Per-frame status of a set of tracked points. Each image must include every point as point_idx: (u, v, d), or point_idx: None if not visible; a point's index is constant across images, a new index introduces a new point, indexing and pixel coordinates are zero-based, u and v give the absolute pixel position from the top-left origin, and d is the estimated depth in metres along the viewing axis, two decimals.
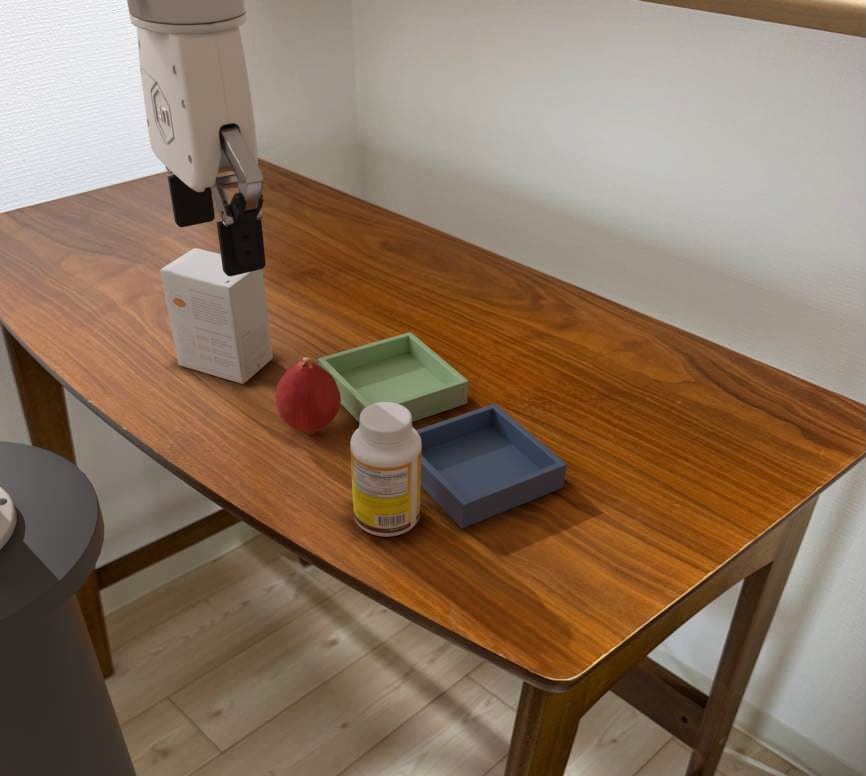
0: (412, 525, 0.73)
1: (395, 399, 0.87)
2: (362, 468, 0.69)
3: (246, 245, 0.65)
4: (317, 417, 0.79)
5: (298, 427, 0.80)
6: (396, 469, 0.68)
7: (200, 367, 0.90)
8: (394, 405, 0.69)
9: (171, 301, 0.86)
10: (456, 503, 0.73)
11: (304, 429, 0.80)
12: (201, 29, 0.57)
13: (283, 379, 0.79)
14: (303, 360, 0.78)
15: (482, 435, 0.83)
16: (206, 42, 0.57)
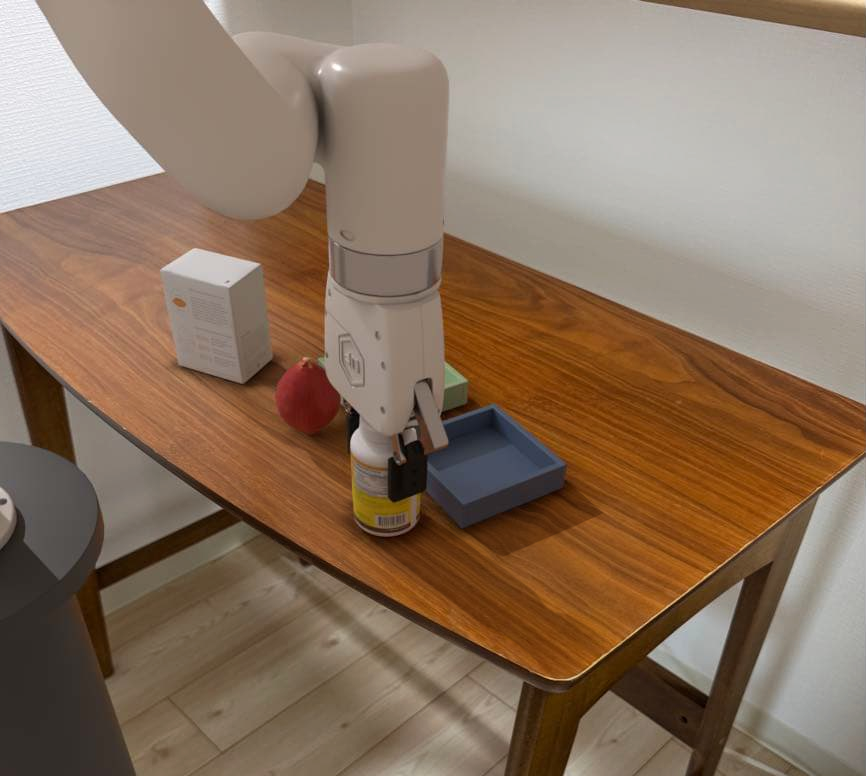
0: (412, 525, 0.73)
1: None
2: (362, 468, 0.69)
3: (414, 477, 0.68)
4: (317, 417, 0.79)
5: (298, 427, 0.80)
6: None
7: (200, 367, 0.90)
8: None
9: (171, 301, 0.86)
10: (456, 503, 0.73)
11: (304, 429, 0.80)
12: (407, 299, 0.58)
13: (283, 379, 0.79)
14: (303, 360, 0.78)
15: (482, 435, 0.83)
16: (412, 313, 0.58)
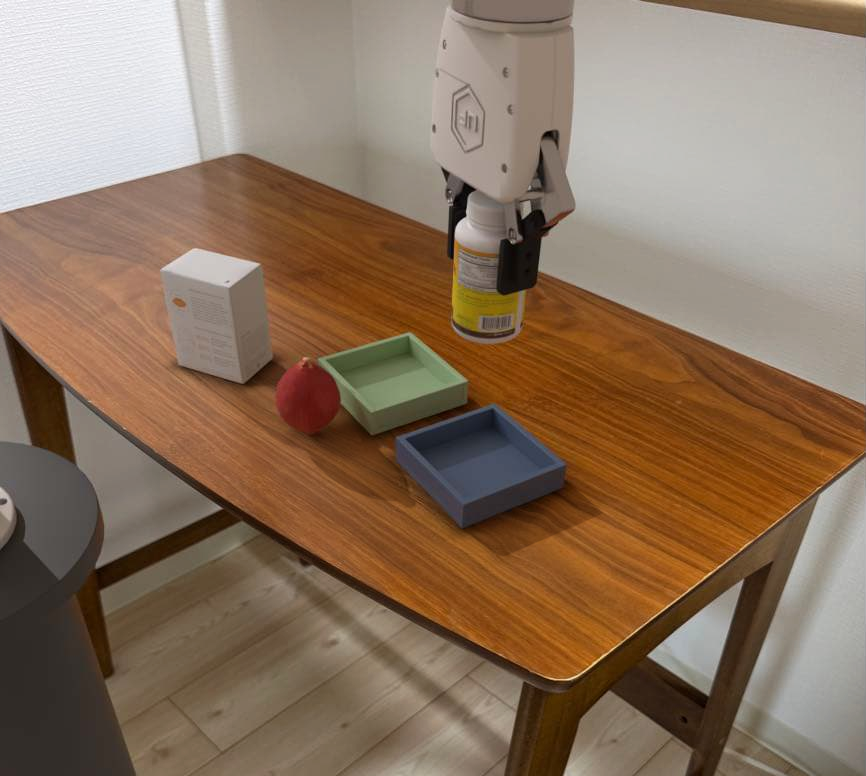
0: (516, 332, 0.68)
1: (395, 399, 0.87)
2: (469, 257, 0.64)
3: (527, 263, 0.62)
4: (317, 417, 0.79)
5: (298, 427, 0.80)
6: None
7: (200, 367, 0.90)
8: None
9: (171, 301, 0.86)
10: (456, 503, 0.73)
11: (304, 429, 0.80)
12: (540, 28, 0.53)
13: (283, 379, 0.79)
14: (303, 360, 0.78)
15: (482, 435, 0.83)
16: (546, 42, 0.53)
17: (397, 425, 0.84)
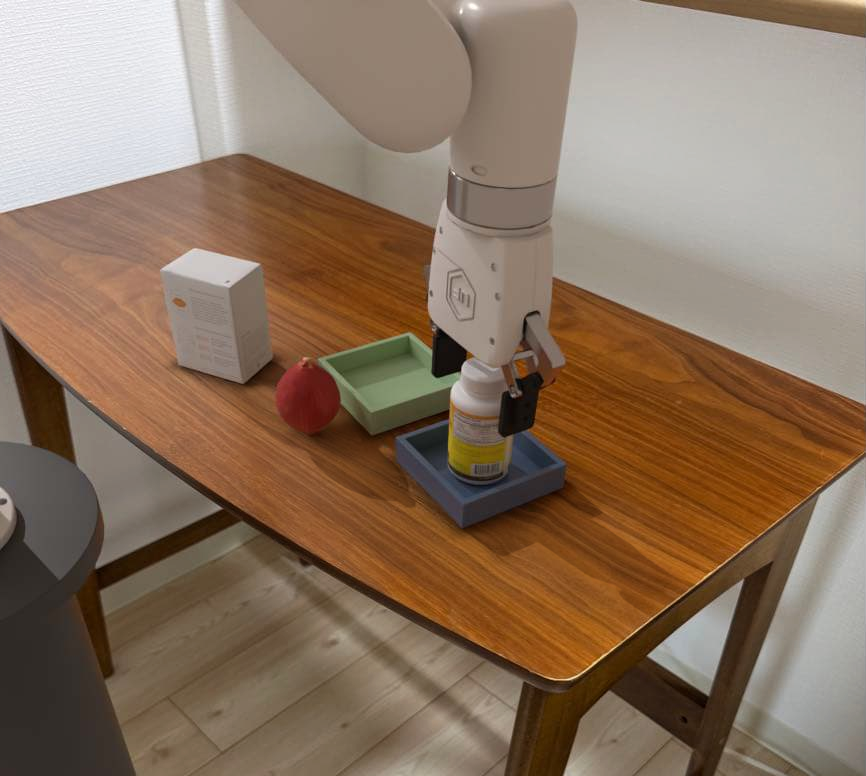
0: (504, 474, 0.78)
1: (395, 399, 0.87)
2: (463, 418, 0.73)
3: (526, 412, 0.69)
4: (317, 417, 0.79)
5: (298, 427, 0.80)
6: (495, 418, 0.73)
7: (200, 367, 0.90)
8: None
9: (171, 301, 0.86)
10: (456, 503, 0.73)
11: (304, 429, 0.80)
12: (523, 232, 0.61)
13: (283, 379, 0.79)
14: (303, 360, 0.78)
15: None
16: (529, 245, 0.61)
17: (397, 425, 0.84)
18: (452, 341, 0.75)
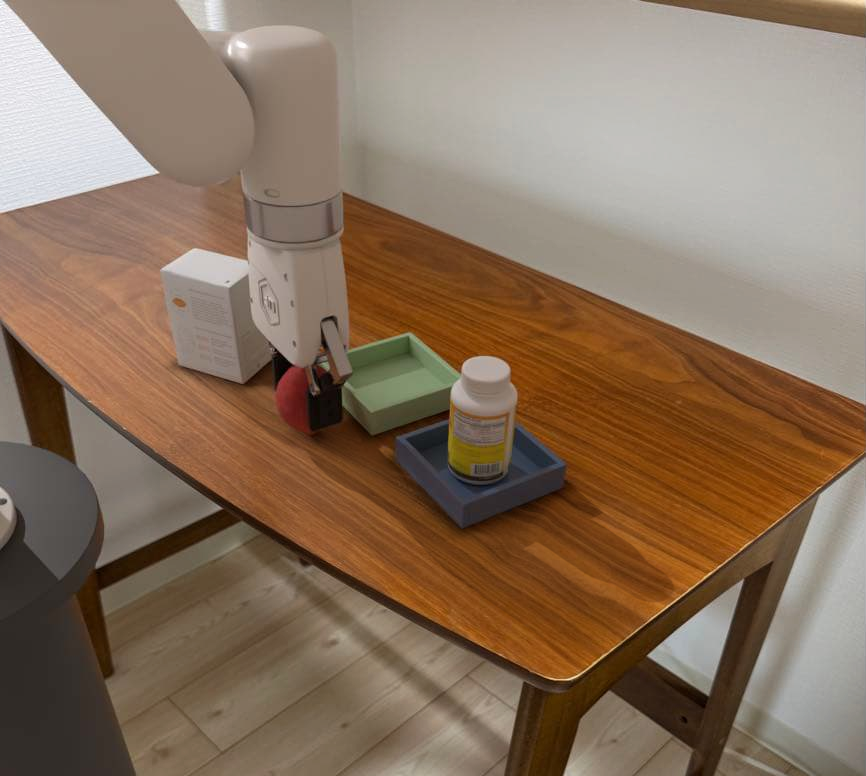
0: (504, 474, 0.78)
1: (395, 399, 0.87)
2: (463, 417, 0.73)
3: (329, 408, 0.77)
4: None
5: (298, 427, 0.80)
6: (496, 418, 0.73)
7: (200, 367, 0.90)
8: (492, 359, 0.74)
9: (171, 301, 0.86)
10: (456, 503, 0.73)
11: (304, 429, 0.80)
12: (310, 245, 0.68)
13: (283, 379, 0.79)
14: None
15: None
16: (314, 257, 0.68)
17: (397, 425, 0.84)
18: None
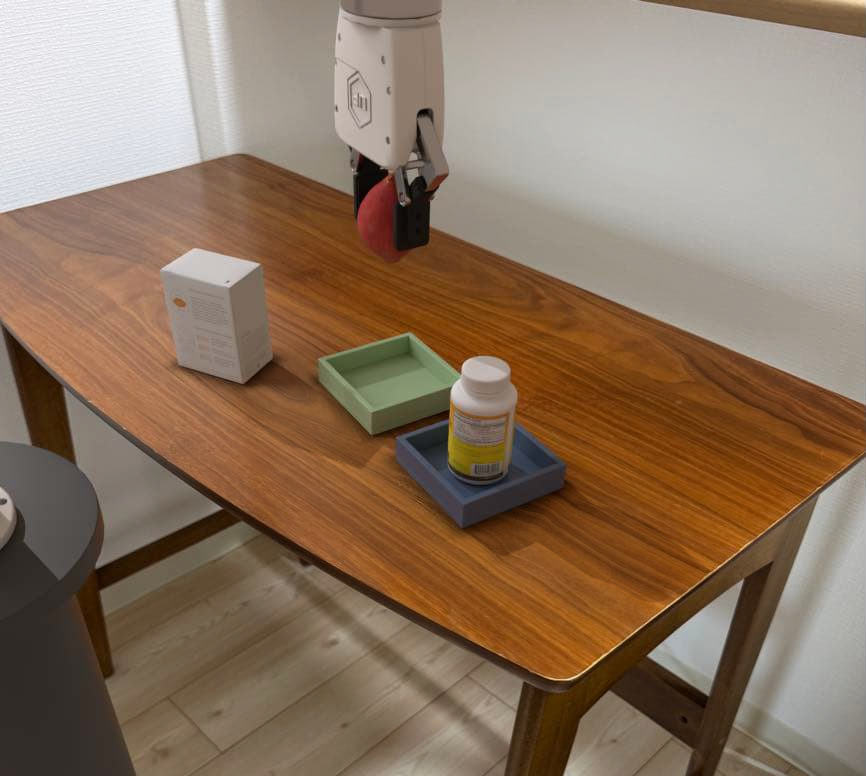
0: (504, 474, 0.78)
1: (395, 399, 0.87)
2: (463, 417, 0.73)
3: (417, 223, 0.74)
4: None
5: (382, 250, 0.76)
6: (496, 418, 0.73)
7: (200, 367, 0.90)
8: (492, 359, 0.74)
9: (171, 301, 0.86)
10: (456, 503, 0.73)
11: (388, 252, 0.77)
12: (410, 23, 0.64)
13: (367, 197, 0.75)
14: (390, 174, 0.74)
15: None
16: (415, 35, 0.64)
17: (397, 425, 0.84)
18: (372, 182, 0.77)
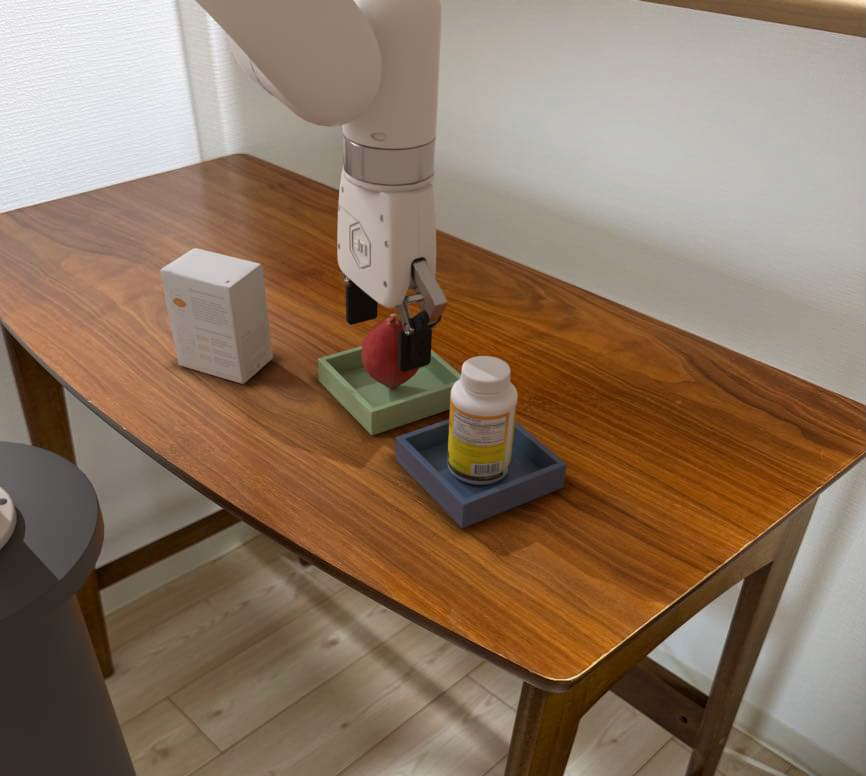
0: (504, 474, 0.78)
1: (395, 399, 0.87)
2: (463, 417, 0.73)
3: (420, 348, 0.80)
4: None
5: (383, 380, 0.85)
6: (496, 418, 0.73)
7: (200, 367, 0.90)
8: (492, 359, 0.74)
9: (171, 301, 0.86)
10: (456, 503, 0.73)
11: (389, 382, 0.85)
12: (406, 188, 0.72)
13: (370, 335, 0.84)
14: (390, 316, 0.83)
15: None
16: (410, 199, 0.72)
17: (397, 425, 0.84)
18: (362, 291, 0.86)
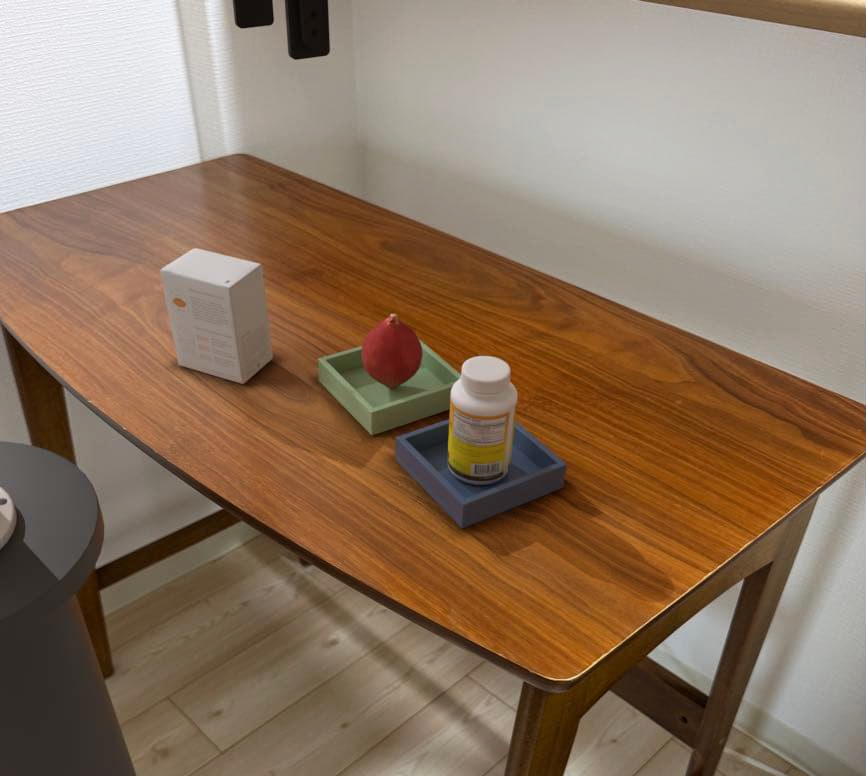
0: (504, 474, 0.78)
1: (395, 399, 0.87)
2: (463, 417, 0.73)
3: (313, 23, 0.65)
4: (403, 370, 0.84)
5: (383, 380, 0.85)
6: (496, 418, 0.73)
7: (200, 367, 0.90)
8: (492, 359, 0.74)
9: (171, 301, 0.86)
10: (456, 503, 0.73)
11: (389, 382, 0.85)
12: None
13: (370, 335, 0.84)
14: (390, 316, 0.83)
15: None
16: None
17: (397, 425, 0.84)
18: None
